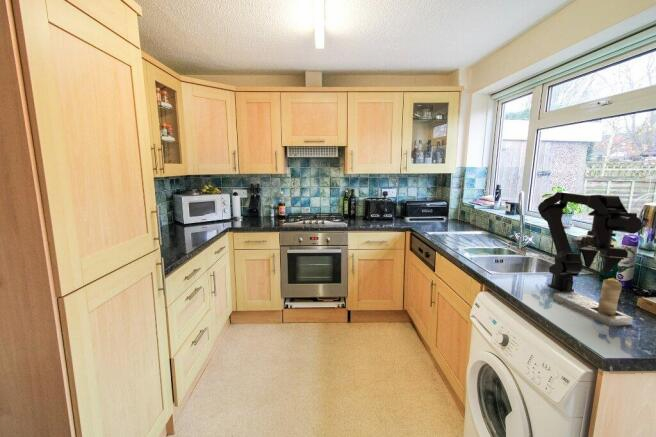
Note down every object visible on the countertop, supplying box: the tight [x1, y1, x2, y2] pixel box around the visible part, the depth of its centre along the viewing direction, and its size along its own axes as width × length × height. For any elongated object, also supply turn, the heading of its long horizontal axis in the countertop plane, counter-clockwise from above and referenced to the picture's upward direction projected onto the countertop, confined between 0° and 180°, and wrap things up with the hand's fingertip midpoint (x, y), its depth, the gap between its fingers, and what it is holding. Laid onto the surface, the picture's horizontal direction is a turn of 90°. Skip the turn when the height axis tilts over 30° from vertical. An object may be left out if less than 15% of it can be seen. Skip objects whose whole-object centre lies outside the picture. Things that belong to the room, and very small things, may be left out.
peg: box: [597, 279, 623, 317], centre depth 99 cm, size 4×4×13 cm
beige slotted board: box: [552, 291, 634, 327], centre depth 105 cm, size 20×9×2 cm, turn 10°
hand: (595, 271), depth 109 cm, fingers open, 9 cm apart
